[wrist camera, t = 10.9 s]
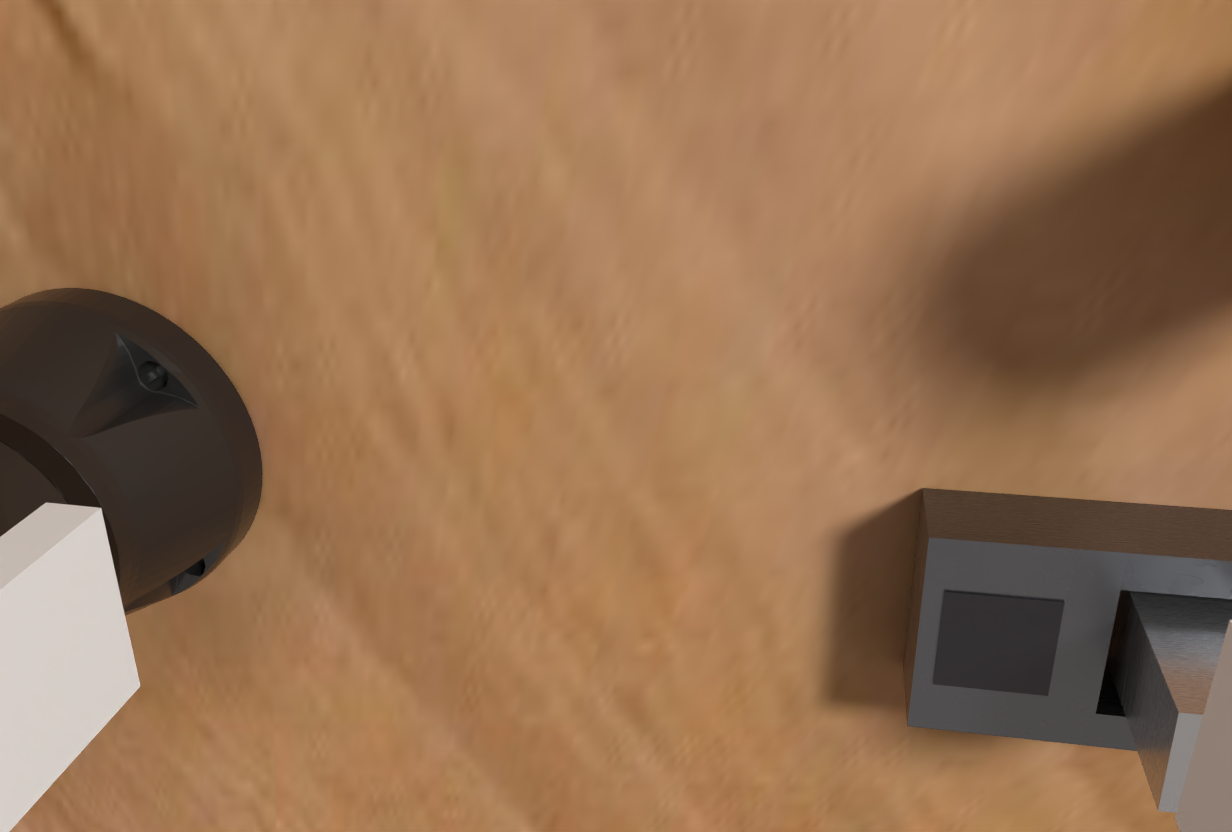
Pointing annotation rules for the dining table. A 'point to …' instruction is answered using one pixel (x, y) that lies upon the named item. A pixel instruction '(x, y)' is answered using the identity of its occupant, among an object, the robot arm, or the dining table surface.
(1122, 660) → the light grey rectangular block
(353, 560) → the dining table surface
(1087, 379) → the dining table surface
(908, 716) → the grey slotted base plate
